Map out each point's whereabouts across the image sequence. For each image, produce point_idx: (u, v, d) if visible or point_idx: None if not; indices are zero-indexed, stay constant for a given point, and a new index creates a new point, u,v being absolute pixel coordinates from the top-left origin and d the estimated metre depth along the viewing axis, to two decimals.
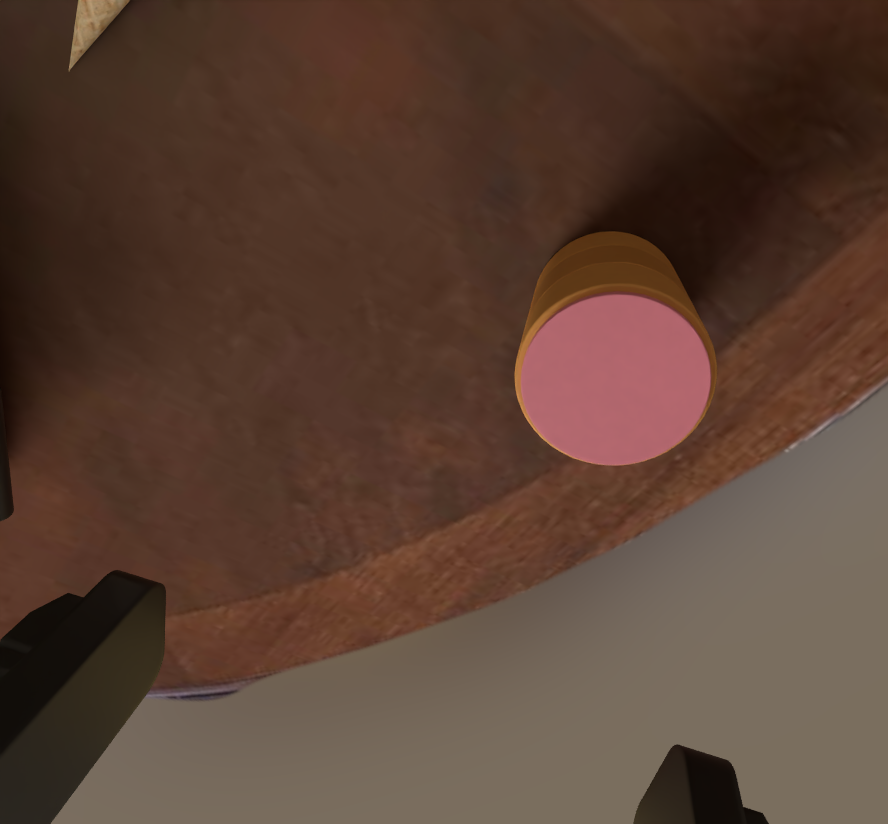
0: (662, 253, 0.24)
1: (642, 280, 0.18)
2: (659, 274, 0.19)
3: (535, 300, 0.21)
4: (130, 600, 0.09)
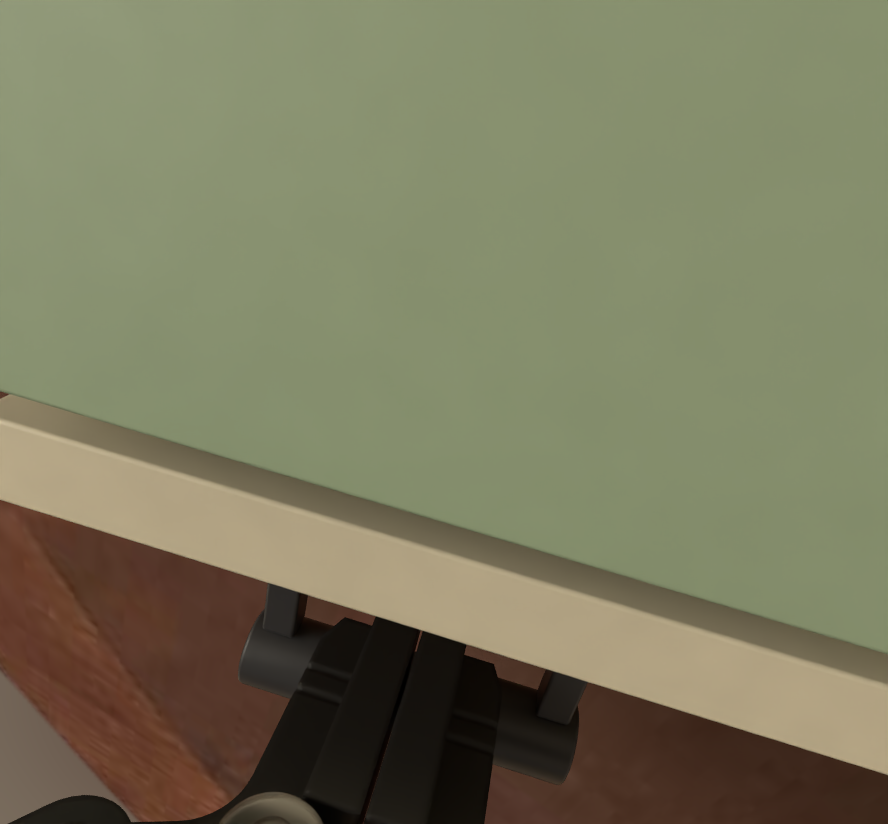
0: None
1: None
2: None
3: None
4: None
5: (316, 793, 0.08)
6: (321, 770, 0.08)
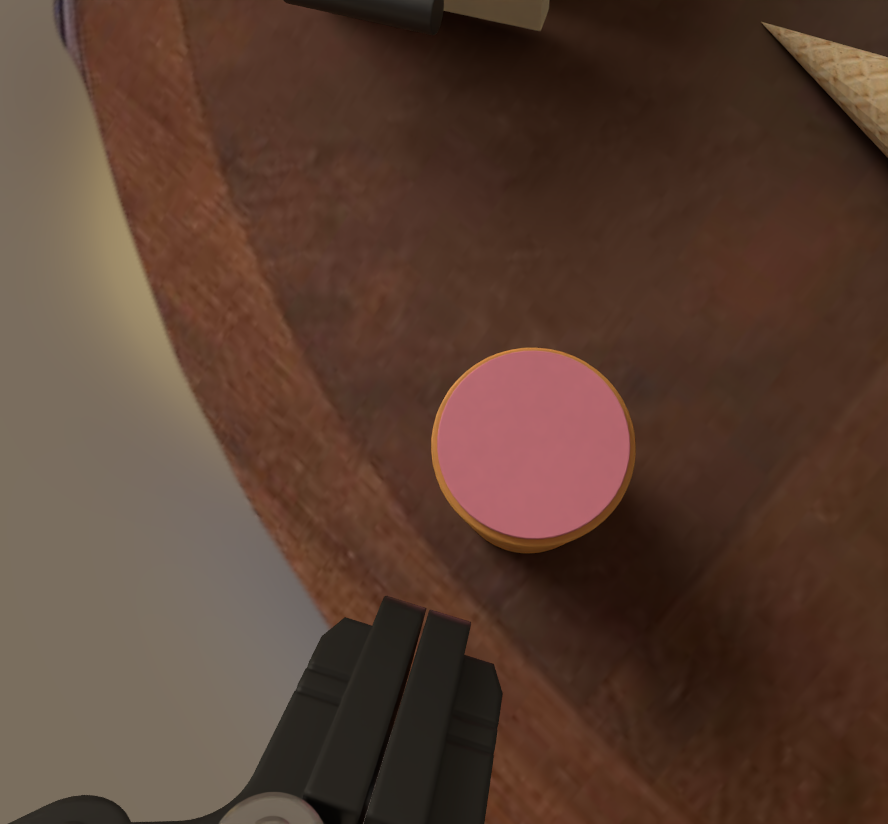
0: None
1: None
2: None
3: None
4: (413, 625, 0.10)
5: (317, 793, 0.08)
6: (322, 770, 0.08)
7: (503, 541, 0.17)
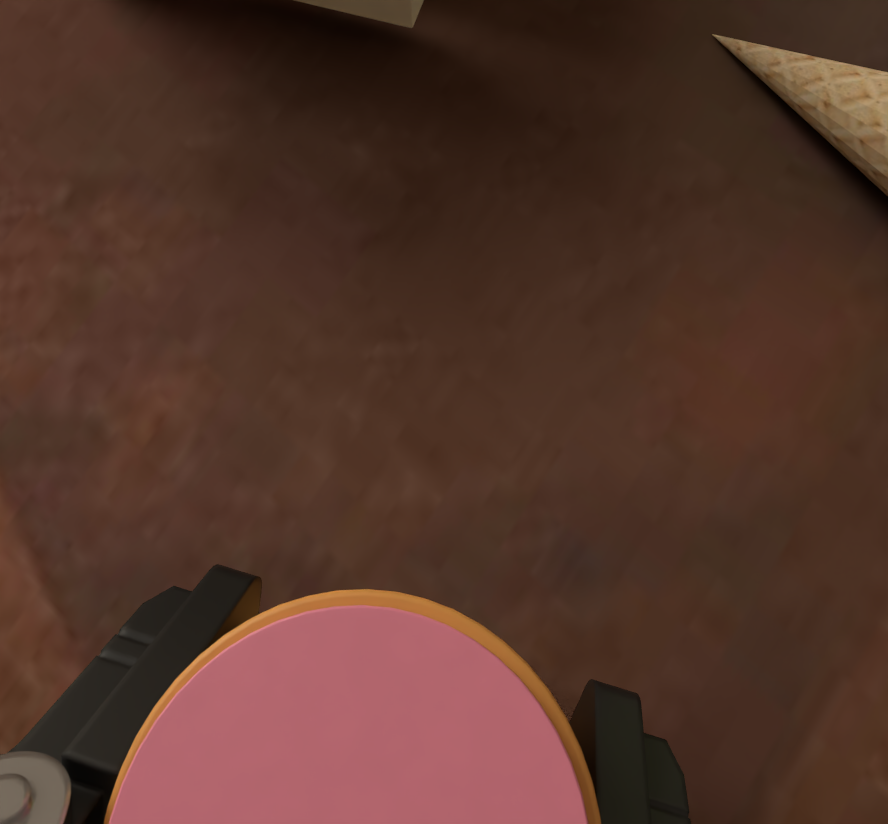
0: None
1: None
2: None
3: None
4: (236, 592, 0.10)
5: (77, 753, 0.07)
6: (90, 731, 0.08)
7: None
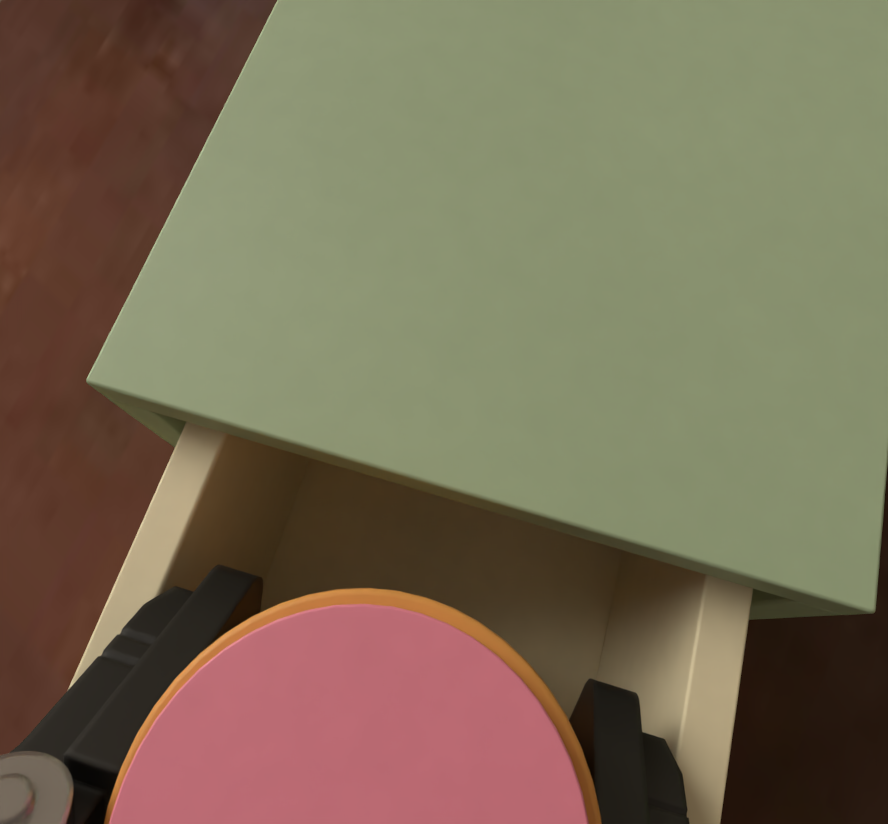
0: None
1: None
2: None
3: None
4: (238, 592, 0.10)
5: (79, 753, 0.07)
6: (92, 731, 0.08)
7: None
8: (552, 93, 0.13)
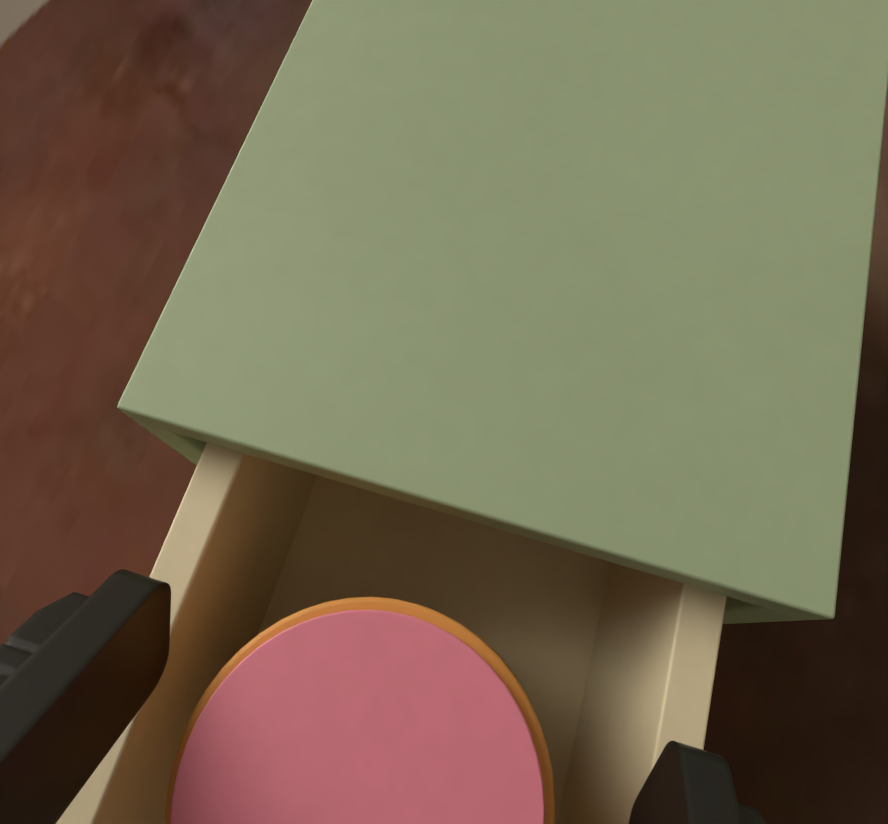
0: None
1: None
2: None
3: None
4: (136, 599, 0.09)
5: None
6: None
7: None
8: (544, 136, 0.14)
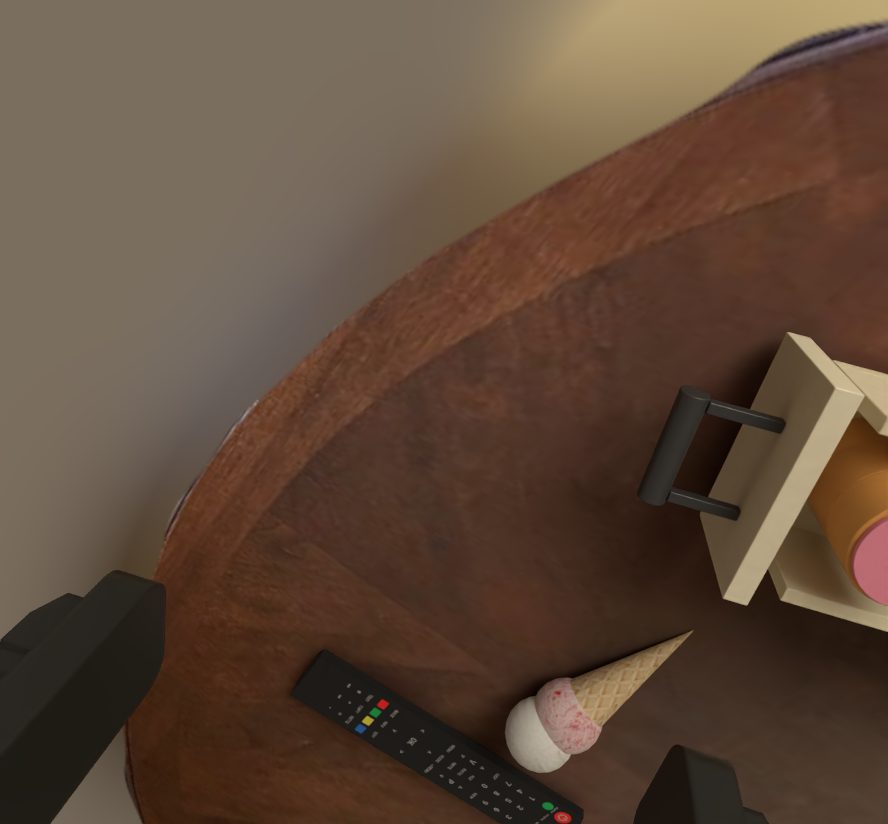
0: None
1: None
2: None
3: None
4: (130, 600, 0.09)
5: None
6: None
7: (851, 540, 0.27)
8: None
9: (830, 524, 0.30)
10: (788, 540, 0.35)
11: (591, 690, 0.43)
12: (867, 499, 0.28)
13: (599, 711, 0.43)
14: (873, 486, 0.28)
